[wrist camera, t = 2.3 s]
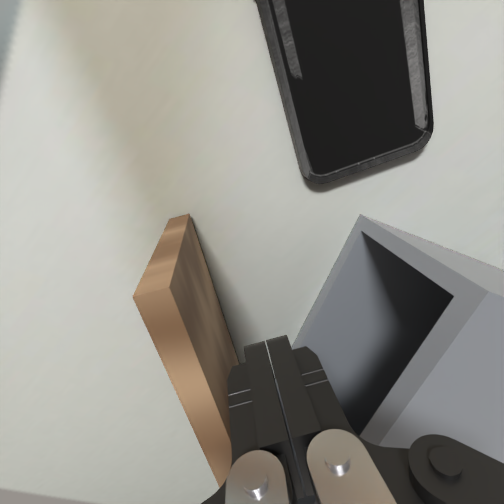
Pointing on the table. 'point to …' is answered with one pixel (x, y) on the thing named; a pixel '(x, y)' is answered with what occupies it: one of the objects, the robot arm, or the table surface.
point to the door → (190, 337)
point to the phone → (350, 80)
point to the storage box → (411, 341)
